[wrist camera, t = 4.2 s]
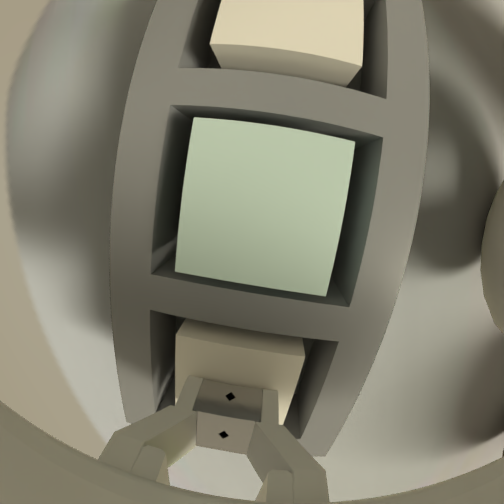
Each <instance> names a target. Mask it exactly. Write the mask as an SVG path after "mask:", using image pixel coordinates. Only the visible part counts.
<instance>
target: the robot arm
mask: <svg viewBox="0 0 504 504" xmlns="http://www.w3.org/2000/svg"><path fill="white" fill-rule="evenodd" d="M196 446H201V447H206V448H212V449H218V450H223V451H229V452H234V453H240V454H246V455H247V457H248V459H249V461H250V462H251V464H252V466H253V467H254V469H255V471H256V472H257V474H258V476H259V477H260V479H261V481H262V482H263V485H262V487H261V489H260V491H259V494H258V496H257V498H256V500H255V501H250V500H241V499H233V498H227V497H220V496H214V495H209V494H204V493H199V492H194V491H190V490H186V489H181V488H177V487H174V486H170V482H169V475H168V467H170V466H171V465H173V464H174V463H175V462H177V461H178V460H179V459H181V458H182V457H183V456H184V455H186V454H187V453H188V452H190V451H191V450H192V449H193V448H195V447H196ZM0 504H504V457H502V458H500V459H498V460H496V461H493V462H491V463H489V464H487V465H485V466H482V467H480V468H478V469H475V470H473V471H470V472H468V473H465V474H463V475H460V476H457V477H454V478H452V479H449V480H446V481H443V482H439V483H436V484H433V485H429V486H426V487H422V488H418V489H414V490H410V491H406V492H402V493H397V494H392V495H387V496H381V497H375V498H368V499H361V500H352V501H341V502H329V494H328V486H327V479H326V471H325V470H324V469H323V467H322V466H321V465H320V464H319V463H318V462H317V461H316V460H315V459H314V458H313V457H312V456H311V455H310V454H309V453H308V452H307V451H306V450H305V449H304V447H303V446H302V445H301V444H300V443H299V442H298V441H297V440H296V439H295V438H294V436H293V435H292V434H291V433H290V432H289V431H288V430H287V429H286V427H285V426H284V425H279V399H278V391H277V390H269V389H258V388H251V387H244V386H238V385H232V384H227V383H222V382H217V381H213V380H208V379H203V378H199V377H194V376H190V375H189V376H188V377H187V379H186V381H185V384H184V386H183V388H182V391H181V393H180V395H179V398H178V400H177V402H176V405H175V406H172V405H170V406H168V407H166V408H164V409H162V410H160V411H158V412H156V413H154V414H152V415H150V416H148V417H146V418H144V419H142V420H140V421H137V422H135V423H133V424H131V425H129V426H127V427H124V428H122V429H120V430H118V431H115V432H114V434H113V435H112V437H111V439H110V440H109V442H108V444H107V445H106V447H105V449H104V450H103V452H102V454H101V455H100V457H99V459H95V458H93V457H91V456H89V455H87V454H85V453H83V452H81V451H79V450H77V449H75V448H73V447H71V446H69V445H67V444H65V443H64V442H62V441H60V440H58V439H56V438H55V437H53V436H51V435H50V434H48V433H46V432H44V431H43V430H41V429H40V428H38V427H37V426H35V425H34V424H32V423H31V422H29V421H28V420H26V419H25V418H23V417H22V416H20V415H19V414H17V413H16V412H15V411H13V410H12V409H11V408H9V407H8V406H7V405H5V404H4V403H3V402H1V401H0Z"/></svg>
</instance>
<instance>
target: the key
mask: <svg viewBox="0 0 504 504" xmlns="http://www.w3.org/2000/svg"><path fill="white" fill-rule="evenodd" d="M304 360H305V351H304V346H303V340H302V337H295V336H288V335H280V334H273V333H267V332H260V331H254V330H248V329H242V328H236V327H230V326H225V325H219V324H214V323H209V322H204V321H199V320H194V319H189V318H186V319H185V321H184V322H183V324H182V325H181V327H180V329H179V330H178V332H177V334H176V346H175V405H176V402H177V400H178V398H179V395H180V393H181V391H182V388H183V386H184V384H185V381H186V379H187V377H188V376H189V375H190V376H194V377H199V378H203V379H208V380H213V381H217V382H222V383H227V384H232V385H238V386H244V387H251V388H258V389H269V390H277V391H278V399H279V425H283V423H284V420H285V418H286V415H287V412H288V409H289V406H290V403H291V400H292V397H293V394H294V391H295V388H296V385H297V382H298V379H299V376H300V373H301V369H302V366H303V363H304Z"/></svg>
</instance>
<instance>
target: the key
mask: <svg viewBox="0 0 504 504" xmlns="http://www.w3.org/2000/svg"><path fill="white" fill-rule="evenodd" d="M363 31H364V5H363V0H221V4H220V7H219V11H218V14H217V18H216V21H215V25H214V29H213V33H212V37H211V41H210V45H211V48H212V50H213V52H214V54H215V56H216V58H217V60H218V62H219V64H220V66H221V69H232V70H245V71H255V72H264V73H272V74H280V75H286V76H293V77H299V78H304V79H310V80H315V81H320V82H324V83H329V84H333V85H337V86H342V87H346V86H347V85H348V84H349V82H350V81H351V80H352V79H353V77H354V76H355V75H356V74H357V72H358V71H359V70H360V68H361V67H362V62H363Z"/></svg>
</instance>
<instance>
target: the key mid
mask: <svg viewBox="0 0 504 504" xmlns="http://www.w3.org/2000/svg"><path fill="white" fill-rule="evenodd" d="M354 147H355V142H354V141H350V140H346V139H342V138H337V137H333V136H328V135H324V134H319V133H314V132H309V131H303V130H298V129H292V128H286V127H280V126H274V125H267V124H260V123H252V122H244V121H234V120H224V119H212V118H198V117H194V119H193V125H192V131H191V137H190V143H189V149H188V156H187V162H186V169H185V177H184V184H183V192H182V201H181V209H180V219H179V228H178V239H177V251H176V263H175V272H180V273H186V274H191V275H197V276H202V277H208V278H213V279H219V280H225V281H230V282H236V283H242V284H248V285H254V286H260V287H267V288H273V289H279V290H286V291H292V292H299V293H306V294H312V295H319V296H326V294H327V290H328V286H329V282H330V277H331V273H332V269H333V265H334V260H335V256H336V251H337V246H338V242H339V237H340V232H341V227H342V222H343V216H344V211H345V205H346V200H347V194H348V188H349V182H350V175H351V169H352V162H353V155H354Z"/></svg>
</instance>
